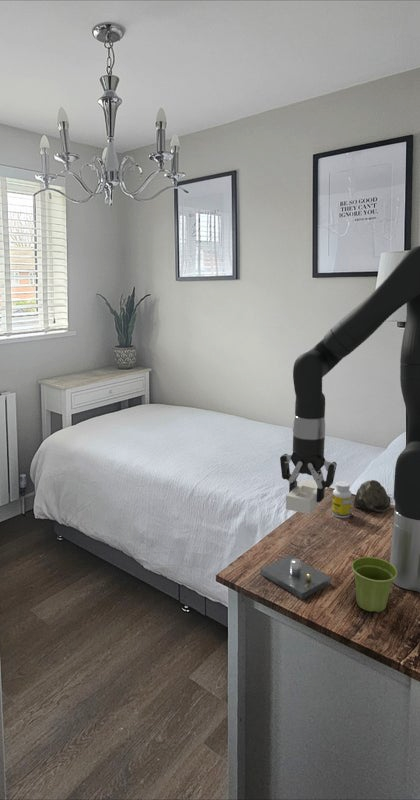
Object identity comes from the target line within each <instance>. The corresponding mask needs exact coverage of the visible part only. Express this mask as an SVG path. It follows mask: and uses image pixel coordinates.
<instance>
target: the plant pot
mask: <svg viewBox="0 0 420 800" xmlns="http://www.w3.org/2000/svg"><path fill="white" fill-rule="evenodd" d="M351 570H352V572H353V576H354V580H355V581H354V583H355V598H356V599H355V600H356V603H357V605H358V607H360V608H361V609H363V610H364V611H367V612H377V613H381V612H383V611H384V610H385V609H386V607H387V605H388V599H389V598H390V597H389V596H390V593H391V588H392V586H393V584H394V583H393V581H394V579H395V578H396V577H397V573H398V572H397V569H396V568H395V566H394V565H392V564H391V563H390V561H387V560H385V559H383V558H379V557H375V556H374V557H373V556H362V557H358V558H356V559H354V560H353V561H352V563H351Z"/></svg>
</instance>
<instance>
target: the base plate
mask: <svg viewBox="0 0 420 800" xmlns="http://www.w3.org/2000/svg"><path fill="white" fill-rule="evenodd" d="M260 575H262V576H263V577H264V578H267V580H269V581H271V582H273V583H274V584H276V585H277V586H279V587H281V588H283V589H284V590H286V591H287V592H288V593H291V594H292V595H294V596H295V597H297V598H299V599H300V600H304V599H305V598H308V597H310V596H311V595H313V594H315V593H317V592H319V591H320V590H322V589H324V588H326V587H327V586H330V585H331V584H332V577H331V576H329V575H328V574H326V573H324V572H322V571H320V570H318V569H316V568H314V567H313V566H311V565H309V564H307V563H305V562H303V561H302V560H300V559H299V558H296V557H294V556H292V555H291V554H289V555H287V556H284V557H282V558H280V559H279V560H278V559H277V560H276V561H274V562H272V563H269V564H267V565H265V566H264V567H263V566H262V567H261V568H260Z"/></svg>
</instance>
